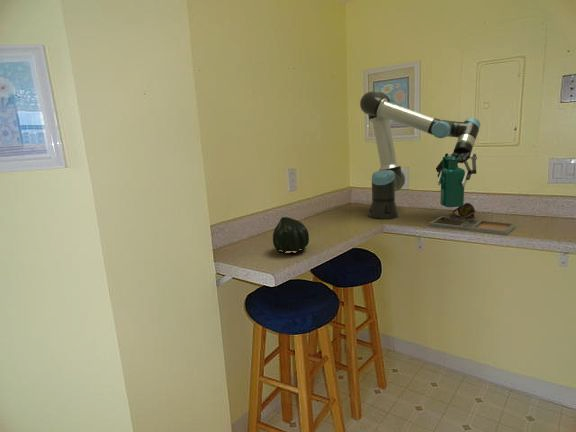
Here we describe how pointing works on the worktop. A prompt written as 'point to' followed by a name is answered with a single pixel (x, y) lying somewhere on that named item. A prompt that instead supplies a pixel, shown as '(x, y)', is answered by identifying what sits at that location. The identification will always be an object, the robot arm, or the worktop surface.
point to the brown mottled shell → (464, 211)
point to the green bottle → (452, 183)
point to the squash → (290, 235)
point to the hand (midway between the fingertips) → (450, 184)
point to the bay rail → (476, 225)
